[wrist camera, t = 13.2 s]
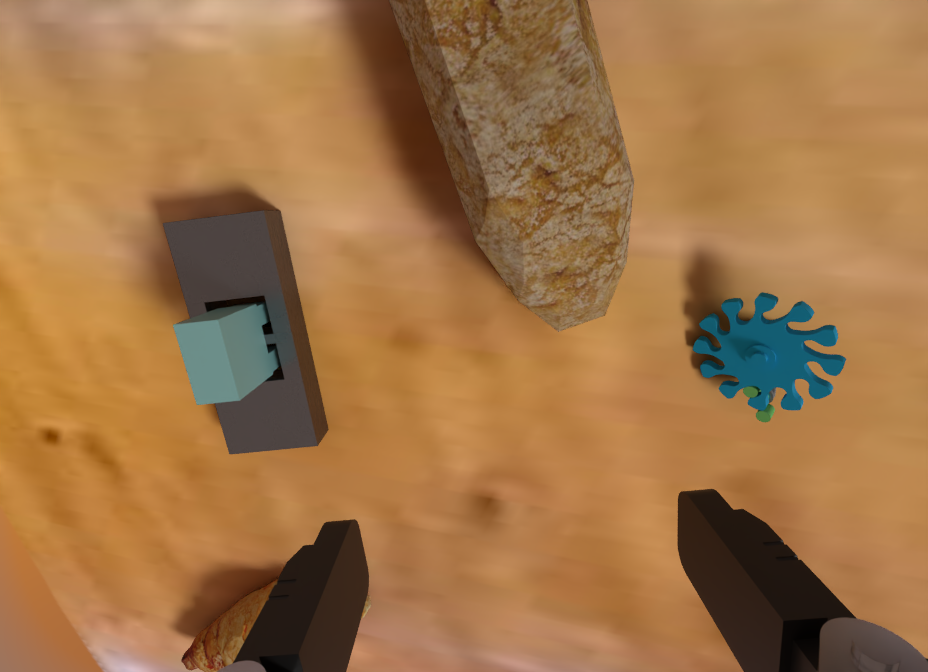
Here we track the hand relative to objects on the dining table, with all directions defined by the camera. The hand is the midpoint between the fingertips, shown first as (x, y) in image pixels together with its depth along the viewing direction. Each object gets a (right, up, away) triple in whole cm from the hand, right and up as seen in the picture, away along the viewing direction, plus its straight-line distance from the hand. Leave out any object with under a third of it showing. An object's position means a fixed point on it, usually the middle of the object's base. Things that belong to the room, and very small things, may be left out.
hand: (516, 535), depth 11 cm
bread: (+2, +23, +23) cm, 33 cm away
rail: (-19, +5, +28) cm, 34 cm away
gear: (+23, +4, +28) cm, 36 cm away
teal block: (-19, +5, +28) cm, 34 cm away
